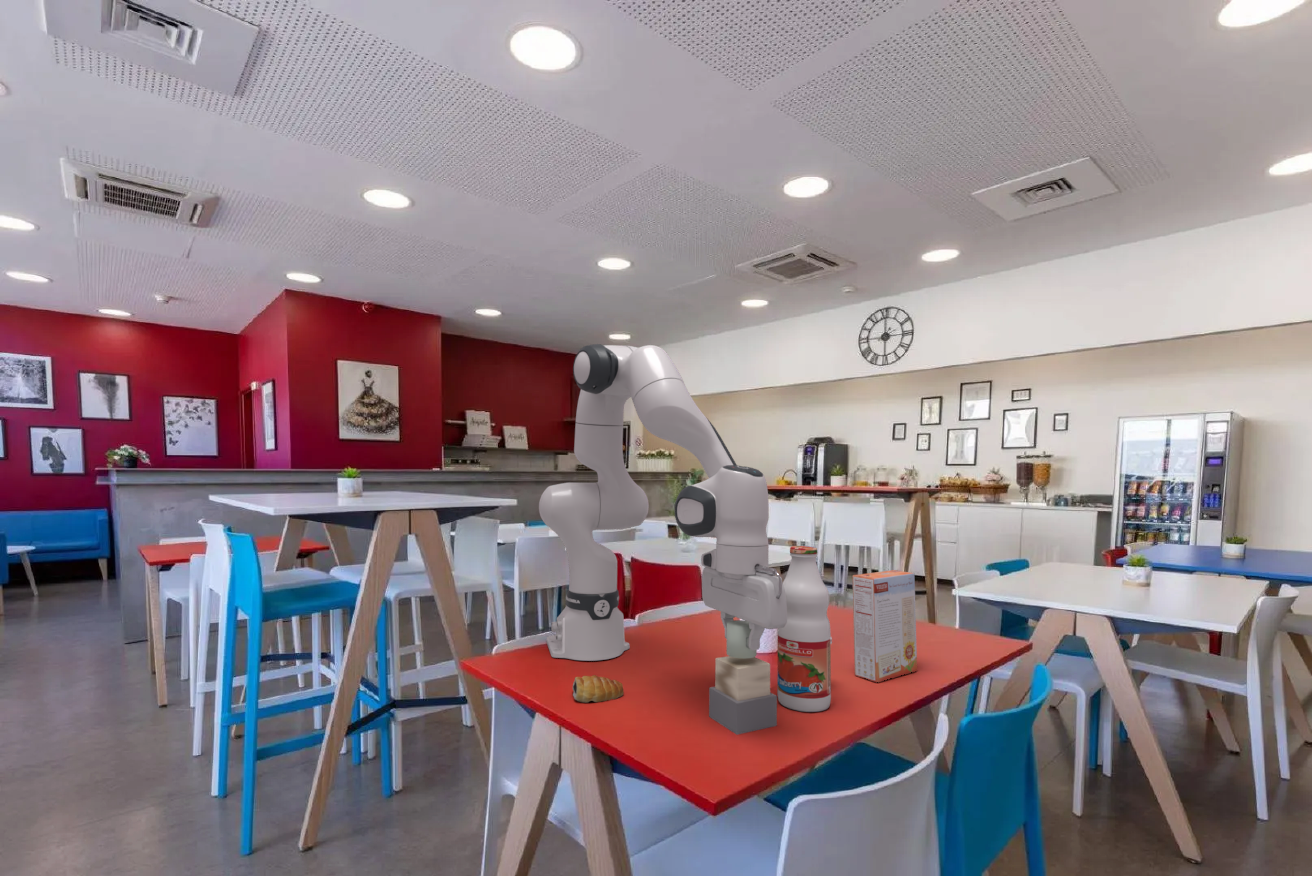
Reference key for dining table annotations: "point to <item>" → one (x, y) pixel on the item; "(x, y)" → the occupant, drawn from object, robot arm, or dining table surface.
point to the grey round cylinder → (738, 639)
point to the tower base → (742, 711)
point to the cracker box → (884, 625)
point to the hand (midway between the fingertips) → (741, 644)
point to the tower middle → (742, 677)
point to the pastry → (596, 689)
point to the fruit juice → (805, 637)
